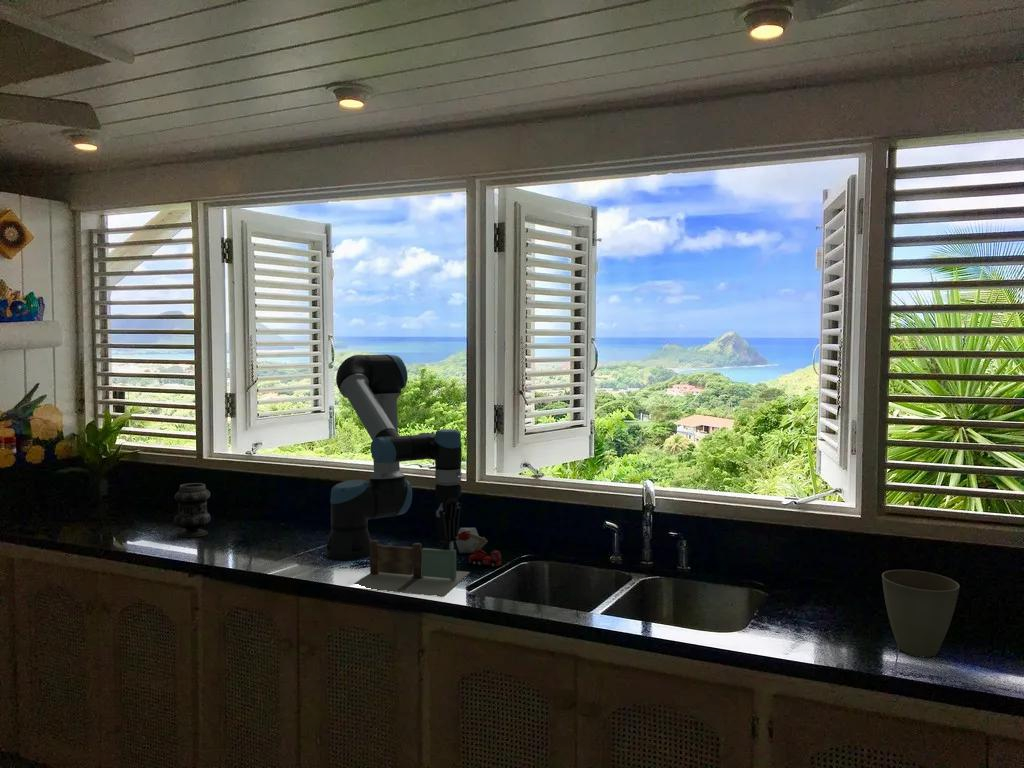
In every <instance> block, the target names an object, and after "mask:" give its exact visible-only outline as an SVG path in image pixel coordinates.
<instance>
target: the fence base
mask: <svg viewBox="0 0 1024 768" xmlns="http://www.w3.org/2000/svg"><path fill="white" fill-rule="evenodd" d="M421 549H423V548H422V543H419V542H416V543H413V544H412V546H403V545H402V546H401V545H389V544H379V540H378V539H371V541H370V556H369V572H370V574H371V575H376V574H378V572H382V573H393V574H404V575H412V574H413V578H421V577H422V552H421Z"/></svg>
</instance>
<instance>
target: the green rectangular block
mask: <svg viewBox="0 0 1024 768" xmlns="http://www.w3.org/2000/svg"><path fill="white" fill-rule="evenodd" d="M421 552H422V576H427V577H439V578H450V580H453V581H454V580H455V579H456V571H457V549H452V550H443V548H442V549H440V548H431V547H429V548H427V547H423V548H422V549H421Z"/></svg>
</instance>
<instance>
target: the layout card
mask: <svg viewBox="0 0 1024 768" xmlns="http://www.w3.org/2000/svg"><path fill="white" fill-rule="evenodd" d="M469 574H471V572H470V571H463V570H462V571H461V570H456V579H455V580H454V581H453V580H450V578H439V577H427V576H422V577H421V578H413V574H412V575H404V574H393V573H382V572H378V574H376V575H371V574H370V573H368V574H366V575H364V576H363V577H362V578H360V579H359V580H358V581H355V582H354V583H353V584H359V585H361V586H365V587H366V588H371V589H377V590H376V591H378V590H387V591H386V592H389V591H393V592H392V593H400V592H402V594H403V593H404V594H410V593H411V594H412V595H413V594H414V595H421V594H424V596H431V595H437V596H436V597H442V596H444V597H445V596H447V593H448V594H449V593H450V592H451V591H453V589H454V588H455V587H457V585H459V584H460V583H461V582H462V581H463V580H464V579H465V578H466V577H468V575H469ZM411 594H410V595H411Z"/></svg>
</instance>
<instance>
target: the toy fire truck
mask: <svg viewBox="0 0 1024 768" xmlns="http://www.w3.org/2000/svg"><path fill="white" fill-rule="evenodd" d="M470 537H471V538H474V539H477V540H479V541H480V542H479V543H478V545H477V546H476V548H475V549H474V553H473V554H470V555H469V556H468V563H469V564H473V565H474V566H475V565H478V566H481V565H485V566H486V565H487V566H491V567H493V568H494V567H498V566H501V565H502V554H501V552H500V551H499V550H496V549H494V550H492V551H490V555H487V552H485V551H484V550H482V548H484V547H485V545H486V544H487V543H488V542H489V541H488V540H487V538H485V536H483V537H482V536H480V535H479V536H477V535H474V534H472V533H471V532H470V531H465V532H461V533H460V534H458V540H463V541H467V540H468V539H470Z"/></svg>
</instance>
